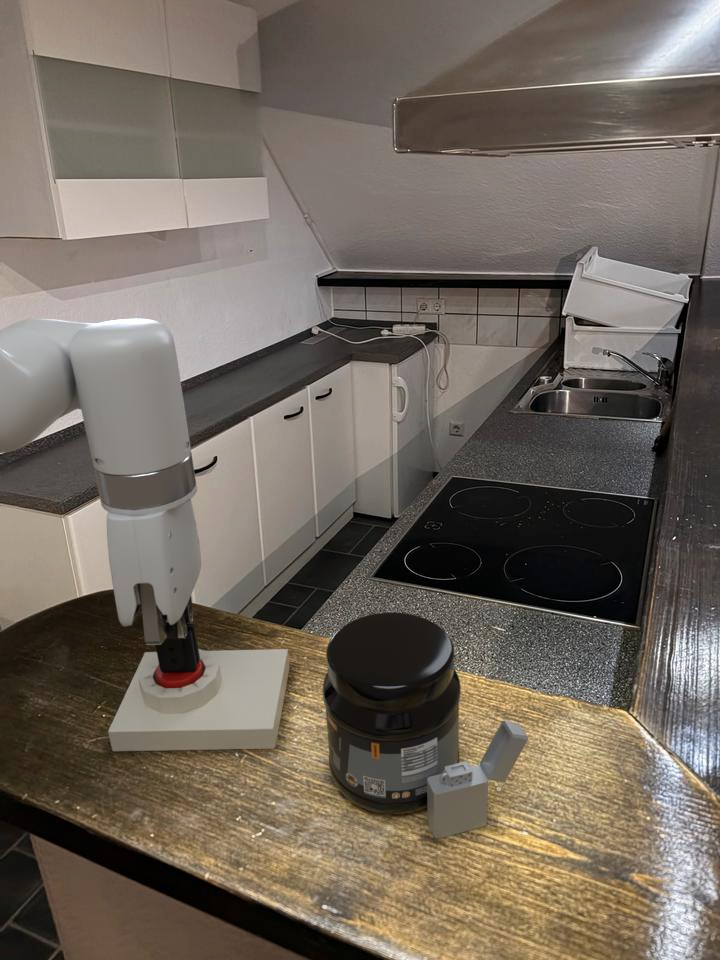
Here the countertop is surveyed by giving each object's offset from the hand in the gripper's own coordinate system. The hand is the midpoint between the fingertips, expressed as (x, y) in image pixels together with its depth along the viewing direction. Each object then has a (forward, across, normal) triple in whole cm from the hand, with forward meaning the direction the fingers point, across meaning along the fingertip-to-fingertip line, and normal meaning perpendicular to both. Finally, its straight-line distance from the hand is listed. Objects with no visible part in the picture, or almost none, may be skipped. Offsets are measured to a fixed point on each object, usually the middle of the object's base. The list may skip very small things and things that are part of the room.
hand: (180, 666), depth 68 cm
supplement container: (+5, +8, +19) cm, 21 cm away
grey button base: (+4, 0, +2) cm, 5 cm away
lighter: (+5, +13, +25) cm, 28 cm away
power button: (+2, 0, 0) cm, 2 cm away
